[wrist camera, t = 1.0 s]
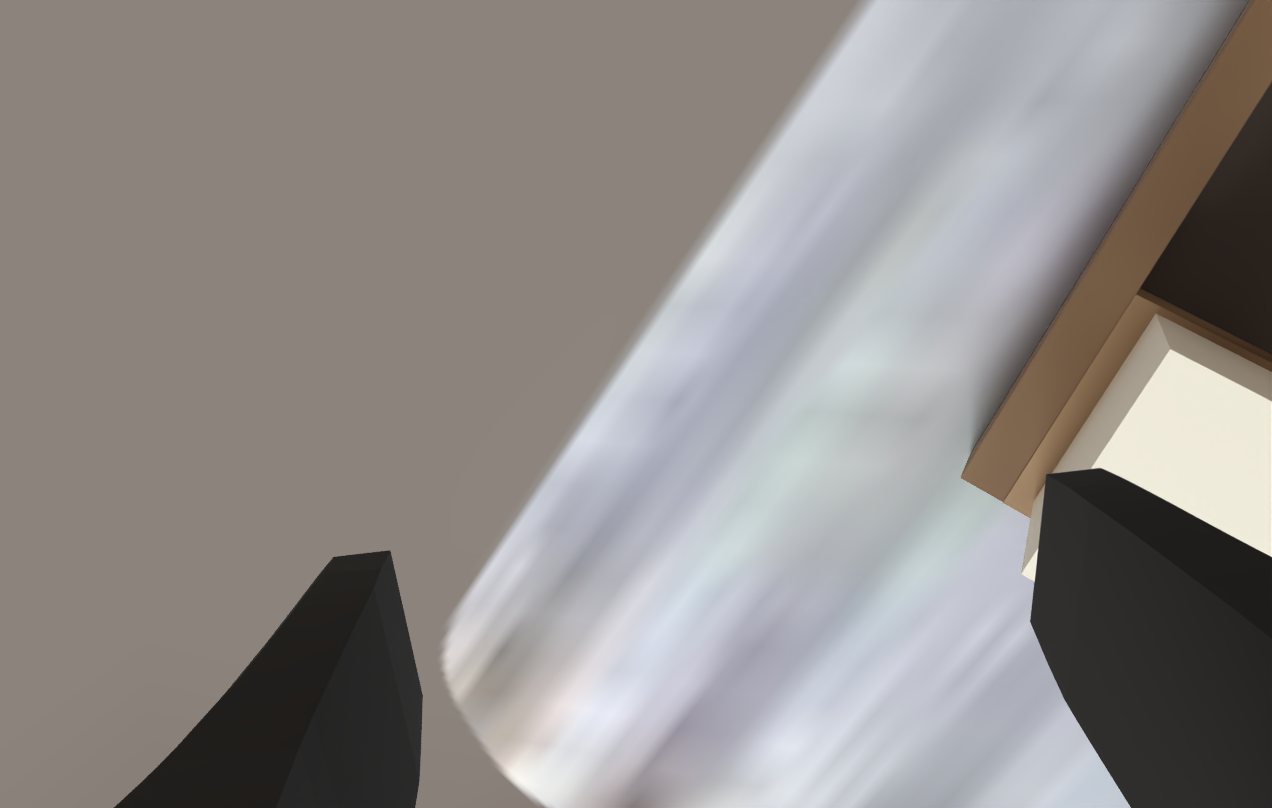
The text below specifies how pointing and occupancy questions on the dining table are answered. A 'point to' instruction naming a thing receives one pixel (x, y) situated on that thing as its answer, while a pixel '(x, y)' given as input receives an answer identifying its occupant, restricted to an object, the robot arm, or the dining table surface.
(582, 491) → the dining table surface
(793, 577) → the dining table surface
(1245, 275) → the trap board
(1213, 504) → the cream block
